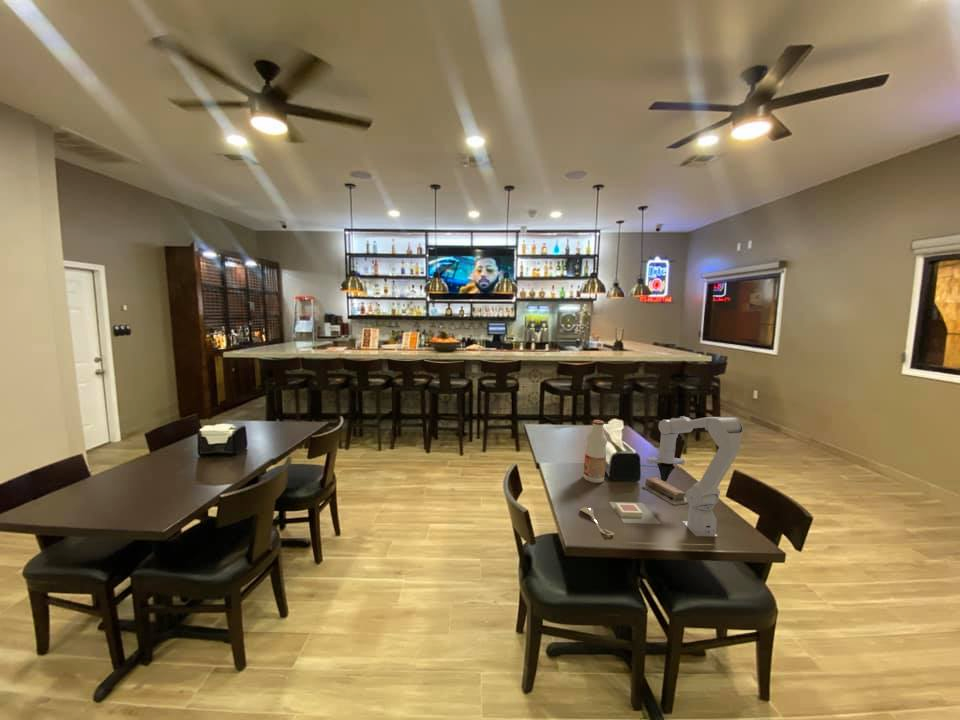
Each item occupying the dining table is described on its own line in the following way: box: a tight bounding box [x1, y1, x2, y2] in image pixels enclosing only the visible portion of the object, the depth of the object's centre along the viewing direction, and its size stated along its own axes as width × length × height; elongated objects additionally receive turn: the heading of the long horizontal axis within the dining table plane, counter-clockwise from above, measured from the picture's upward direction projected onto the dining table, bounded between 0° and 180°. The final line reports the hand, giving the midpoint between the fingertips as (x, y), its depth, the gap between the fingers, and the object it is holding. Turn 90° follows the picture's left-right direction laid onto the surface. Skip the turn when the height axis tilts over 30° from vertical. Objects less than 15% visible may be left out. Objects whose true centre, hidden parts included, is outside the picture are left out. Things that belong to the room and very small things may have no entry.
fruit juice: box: [582, 419, 608, 484], centre depth 184 cm, size 9×9×28 cm
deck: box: [615, 503, 643, 517], centre depth 155 cm, size 7×2×8 cm
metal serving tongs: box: [579, 506, 615, 536], centre depth 146 cm, size 20×4×5 cm
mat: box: [608, 501, 662, 525], centre depth 155 cm, size 16×14×1 cm
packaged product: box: [641, 477, 688, 506], centre depth 172 cm, size 18×5×10 cm
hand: (663, 480), depth 162 cm, fingers closed
